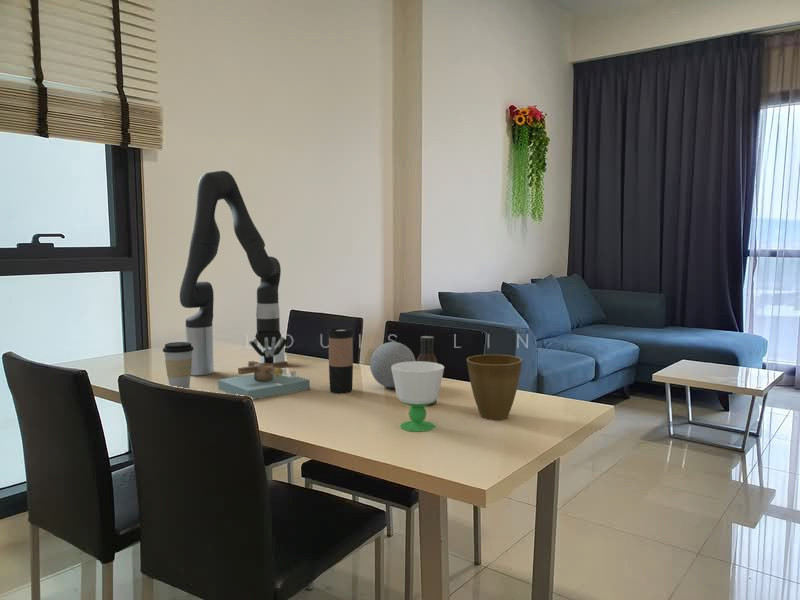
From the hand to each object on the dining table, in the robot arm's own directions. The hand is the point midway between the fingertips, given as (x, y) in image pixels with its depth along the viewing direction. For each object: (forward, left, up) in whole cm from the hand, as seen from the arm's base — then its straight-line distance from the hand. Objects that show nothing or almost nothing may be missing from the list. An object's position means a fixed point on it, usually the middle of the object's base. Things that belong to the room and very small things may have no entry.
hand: (269, 367), depth 208 cm
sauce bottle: (+53, +22, -6) cm, 58 cm away
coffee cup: (-12, -26, -6) cm, 29 cm away
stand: (+5, -5, -6) cm, 9 cm away
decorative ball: (+31, +28, -6) cm, 42 cm away
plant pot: (+75, +26, -6) cm, 80 cm away
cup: (+68, +4, -6) cm, 69 cm away
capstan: (+6, -5, -2) cm, 8 cm away
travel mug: (+24, +12, -6) cm, 28 cm away
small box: (-29, +18, -6) cm, 34 cm away
